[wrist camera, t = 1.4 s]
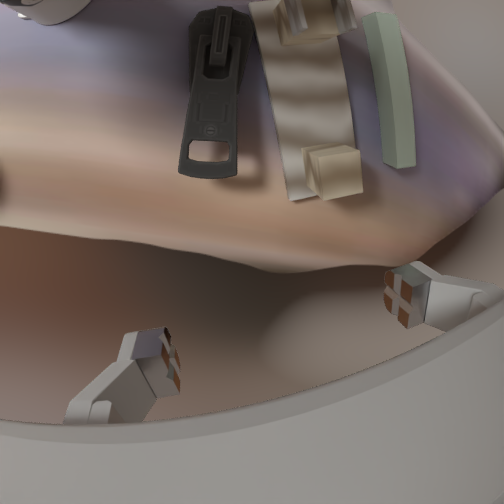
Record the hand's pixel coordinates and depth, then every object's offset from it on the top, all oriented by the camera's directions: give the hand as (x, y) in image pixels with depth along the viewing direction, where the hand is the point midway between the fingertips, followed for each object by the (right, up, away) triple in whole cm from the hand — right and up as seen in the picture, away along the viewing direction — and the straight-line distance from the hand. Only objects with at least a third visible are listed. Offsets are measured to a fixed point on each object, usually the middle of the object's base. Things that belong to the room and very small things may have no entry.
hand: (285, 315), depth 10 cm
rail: (+21, +29, +30) cm, 47 cm away
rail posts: (+7, +26, +29) cm, 40 cm away
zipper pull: (-7, +26, +27) cm, 38 cm away
